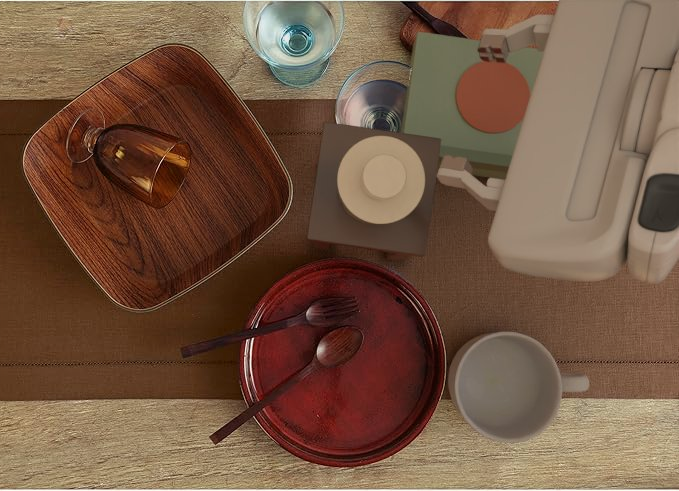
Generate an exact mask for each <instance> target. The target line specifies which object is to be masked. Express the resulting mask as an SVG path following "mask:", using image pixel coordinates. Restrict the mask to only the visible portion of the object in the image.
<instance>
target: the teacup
mask: <svg viewBox="0 0 679 491" xmlns="http://www.w3.org/2000/svg"><path fill="white" fill-rule="evenodd" d="M447 384H448V385H447V386H448V392H449V396H450V399H451V401H452V404H453V406H454V407H455V409H456V410H457V412H458V414H459V415H460V416H461V417H462V418H463V419H464V421H465V422H466V423H467V424H468V425H469V426H470V428H472V429H473V431H475V432H477V433H478V434H479V435H481V436H482V437H484V438H486V439H488V440H491V441H494V442H497V443H501V444H512V445H513V444H519V443H523V442H527V441H529V440H532V439H535V438H537V437H538V436H540V435H541V434H542V433H543V432H544V431H545V430H547V429H548V428H549V427H550V425H552V423H553V422H554V420H555V418H556V417H557V415H558V413H559V410H560V406H561V404H562V398H563V397H562V396H563V393H583V392H586V391H588V390H589V388H590V380H589V377H588V375H586V374H585V373H579V372H567V371H560V370H559V366H558V364H557V362H556V360H555V358H554V357H553V355H552V354H551V352H550V351H549V350H548V349H547V348H546V347H545V346H544V345H543V344H542V343H541V342H540V341H538V340H536V339H535V338H533V337H532V336H530V335H527V334H523V333H520V332H517V331H496V332H487V333H483V334H480V335H477V336H475V337H473V338H471V339H470V340H468V341H466V342H465V343H464V344H463V345H462V346H461V347H459V349H458V350H457V351H456V353H455V355H454V357H453V358H452V361H451V363H450V366H449V370H448V374H447Z"/></svg>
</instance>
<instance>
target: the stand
mask: <svg viewBox="0 0 679 491" xmlns="http://www.w3.org/2000/svg"><path fill="white" fill-rule="evenodd" d="M374 136H389V137H393V138H396V139H399V140H401V141H403V142H405V143H406V144H408V145H409V146H410V147H411V148H412V149H413V150H414V151H415V152H416V153H417V155H418V156H419V158H420V160H421V162H422V165H423V168H424V172H425V187H424V192H423V195H422V198H421V200H420V202H419V203H418V205H417V206H416V207H415V209H414V210H413V211H412V212H411V213H410V214H408V215H407V216H406V217H404V218H402V219H400V220H398V221H396V222H393V223H388V224H366V223H362V222H360V221H358V220H356V219H354V218H353V217H351V216H350V215H349V214H348V213H347V212H346V211H345V209H344V208H343V206H342V204H341V202H340V199H339V195H338V185H337V175H338V169H339V166H340V163H341V161H342V159H343V157H344V156H345V154H346V153H347V152H348V151H349V149H350V148H352V147H353V146H354V145H355V144H357V143H358V142H360V141H362V140H364V139H366V138H369V137H374ZM440 146H441V139H440V138H434V137H427V136H420V135H413V134H406V133H401V132H398V131H392V130H384V129H378V128H370V127H364V126H359V125H351V124H344V123H337V122H330V121H323V124H322V130H321V136H320V144H319V149H318V150H319V151H318V157H317V165H316V172H315V178H314V185H313V192H312V199H311V206H310V211H309V219H308V225H307V231H306V241H307V242H311V243H312V245H313V247H314V249H316V250H320V251H321V250H322V251H329V248H330V245H333V246H334V245H335V246H340V247H342V246H343V247H348V248H355V249H362V250H369V251H374V252H375V251H376V252H384V253H386V254H385V259H386V260H391V261H401V260H406V259H407V258H410V257H419V258H423V257H426V256H427V251H428V250H427V249H428V242H429V234H430V227H431V221H432V220H431V219H432V212H433V204H434V198H435V191H436V190H435V189H436V183H437V176H436V175H437V172H438V170H437V168H438V161H439V153H440Z"/></svg>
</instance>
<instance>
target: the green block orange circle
mask: <svg viewBox="0 0 679 491" xmlns="http://www.w3.org/2000/svg"><path fill="white" fill-rule="evenodd" d="M480 40H481V39H480ZM480 40H478V39H471V38H465V37H458V36H451V35H446V34H445V35H444V34H438V33H431V32H425V31H417V32H416V36H415V38H414V41H413V44H412V50H411V55H410V56H411V57H410V62H409V68H410V67H411V68H412V71H411V75H410V80H409V86H407V87H406V93H405V100H404V107H403V115H402V123H401V130H400V133H406V134H413V135H420V136H427V137H434V138H440V139H441V146H440V153H439V161H438V168H437V171H438V169H439V166H440V163H441V160H442V157H443V156H444V155H451V156H452V157H453V158H454V157H457V156H460V157H466V158H468V160H469V163H470V165H471V166H472V168H473V171H472V174H471V175H472V176H474V177H475V176H476V177H483V178H488V179H489V178H496V179H503V180H505V179H506V176H507V172H508V169H509V166H510V162H511V159H512V156H513V152H514V149H515V146H516V142H517V139H518V135H519V132H520V129H521V125H522V122H523V119H524V115H525V112H526V109H527V105H528V102H529V99H530V95H531V92H532V89H533V85H534V82H535V79H536V75H537V72H538V69H539V65H540V62H541V59H542V55H543V51H538V50H537V48H533V47H526V48H523V49H520V50H517V51H515V52H512V53H509V56H508V59H507V62H506V63H498V62H496V61H491V62H486V61H483V60H482V59H480V56H479V52H478V46H479V43H480ZM407 91H408V92H407Z"/></svg>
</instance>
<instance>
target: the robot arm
mask: <svg viewBox="0 0 679 491" xmlns="http://www.w3.org/2000/svg"><path fill="white" fill-rule="evenodd" d="M532 46H536V49H537V50H538V51H543V55H542V59H541V62H540V65H539V69H538V72H537V75H536V79H535V82H534V85H533V89H532V92H531V95H530V99H529V102H528V105H527V109H526V112H525V115H524V119H523V122H522V125H521V129H520V132H519V135H518V139H517V142H516V146H515V149H514V152H513V156H512V159H511V162H510V166H509V169H508V172H507V176H506V179H505V180H503V179H496V178H489V177H488V179H487V181H486V185H485V184H484V183H482V182H481V181H480V180H478V178H476V177H475V176H474V175H471V174H472V171H473V168H472V166H471V165H470V163H469V160H468V158H466V157H460V156H457V157H454V158H453V157H452V156H451V155H444V156H443V157H442V160H441V163H440V166H439V169H438V170H437V175H436V179H437V180H438V181H439V183H440V184H441V185H444V186H447V187H453V188H459V189H464V190H466V192H467V193H469V195H471V196H472V197H473V198H474V199H475V200H476V201H478V202H479V203H480V204H481V205H482V206H483V207H484V208H486V210H488V211H492V212H495V213H494V216H493V220H492V223H491V225H490V229H489V232H488V236H487V244H488V245H487V246H488V247H489V249H490V251H491V253H492V255H493V257H494V258H495V260H496V261H497V262H498V263H499V264H500V266H501V267H503V268H504V269H505V270H507V271H510V272H512V273H517V274H520V275H521V274H522V275H526V276H532V277H537V278H544V279H552V280H553V279H554V280H560V281H571V282H590V283H591V282H599V281H602V280H603V281H604V280H607V279H609V278H612V277H614V276H615V275H617V274H618V273H619V272H620V271H622V270H623V267H625V265H626V269H627V270H626V271H627V273H628V275H629V276H630V277H631V278H632V279H634V280H636V281H639V282H642V283H647V284H660V283H662V282H663V281H664V280H666V278H668V276H669V274H670V273H671V271H672V270H673V268H674V267H675V265H676V264H677V262H678V261H679V0H558V3H557V5H556V9H555V13H554V14H546V13H543V14H542V13H538V14H535V15H533V16H531V17H528V18H526V19H524V20H522V21H520V22H518V23H517V22H516V23H515V24H513V25H510V26H509V27H508V28H488V27H487V28H484V29H483V31H482V33H481V35H480V43H479V46H478V52H479V56H480V59H482V60H483V61H486V62H491V61H496V62H498V63H506V62H507V59H508V56H509V53H512V52H515V51H517V50H520V49H523V48H526V47H527V48H530V47H532Z"/></svg>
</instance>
